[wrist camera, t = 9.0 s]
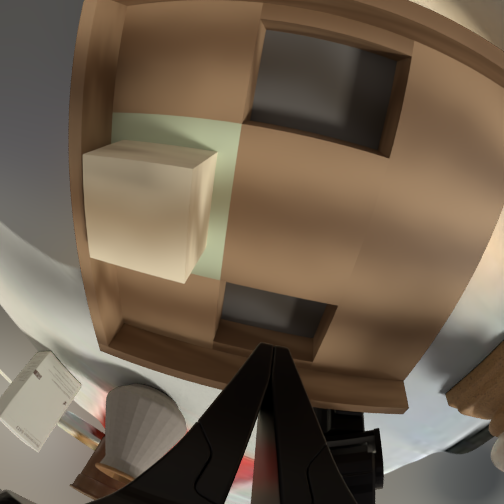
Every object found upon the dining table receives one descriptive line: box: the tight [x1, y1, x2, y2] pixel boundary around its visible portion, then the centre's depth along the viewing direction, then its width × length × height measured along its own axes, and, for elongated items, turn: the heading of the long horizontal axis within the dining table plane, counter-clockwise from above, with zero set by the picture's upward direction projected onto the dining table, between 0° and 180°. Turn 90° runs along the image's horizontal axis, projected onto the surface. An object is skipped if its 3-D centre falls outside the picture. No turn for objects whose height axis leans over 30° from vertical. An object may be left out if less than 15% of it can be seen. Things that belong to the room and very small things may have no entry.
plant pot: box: [70, 436, 127, 500], centre depth 44 cm, size 16×16×16 cm
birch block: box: [83, 140, 218, 284], centre depth 15 cm, size 6×6×4 cm
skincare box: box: [0, 351, 81, 452], centre depth 31 cm, size 8×6×15 cm
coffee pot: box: [95, 384, 187, 484], centre depth 30 cm, size 21×12×15 cm, turn 49°
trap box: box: [69, 0, 504, 414], centre depth 17 cm, size 26×26×6 cm
